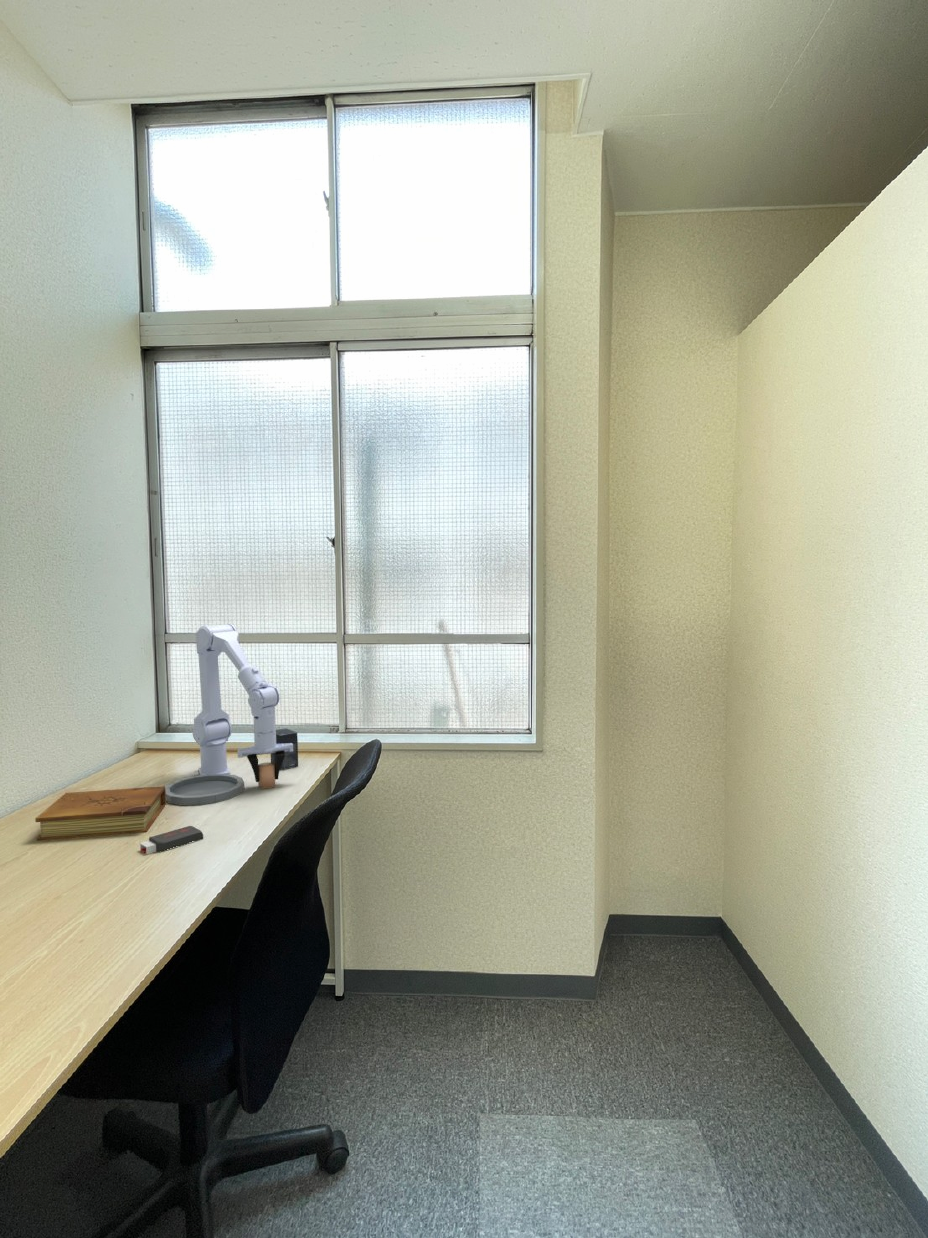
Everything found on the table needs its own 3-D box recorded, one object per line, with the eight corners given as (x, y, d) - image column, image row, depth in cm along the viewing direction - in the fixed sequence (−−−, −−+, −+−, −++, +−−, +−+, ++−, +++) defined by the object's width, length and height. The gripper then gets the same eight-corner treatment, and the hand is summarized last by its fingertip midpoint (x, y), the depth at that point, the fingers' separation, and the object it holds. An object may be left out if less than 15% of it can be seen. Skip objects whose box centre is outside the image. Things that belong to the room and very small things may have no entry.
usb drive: (203, 840, 153) (203, 828, 153) (148, 857, 144) (148, 844, 144) (192, 834, 157) (192, 822, 156) (138, 851, 148) (138, 838, 148)
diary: (166, 807, 176) (165, 785, 175) (146, 835, 157) (145, 810, 157) (68, 813, 171) (67, 790, 171) (36, 842, 153) (35, 817, 153)
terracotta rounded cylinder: (257, 784, 191) (256, 763, 190) (273, 782, 193) (273, 761, 192) (259, 789, 187) (259, 767, 186) (276, 787, 189) (276, 765, 188)
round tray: (163, 787, 190) (162, 780, 190) (238, 777, 198) (238, 770, 198) (164, 810, 172) (164, 802, 172) (248, 797, 180) (247, 790, 180)
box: (298, 766, 208) (297, 732, 207) (281, 770, 205) (280, 735, 204) (287, 761, 214) (286, 727, 213) (270, 764, 211) (269, 730, 210)
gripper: (239, 737, 182) (241, 787, 183) (294, 731, 188) (296, 779, 189) (235, 731, 188) (237, 780, 189) (289, 726, 194) (291, 773, 195)
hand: (266, 779), depth 190 cm, fingers closed on terracotta rounded cylinder, 4 cm apart
